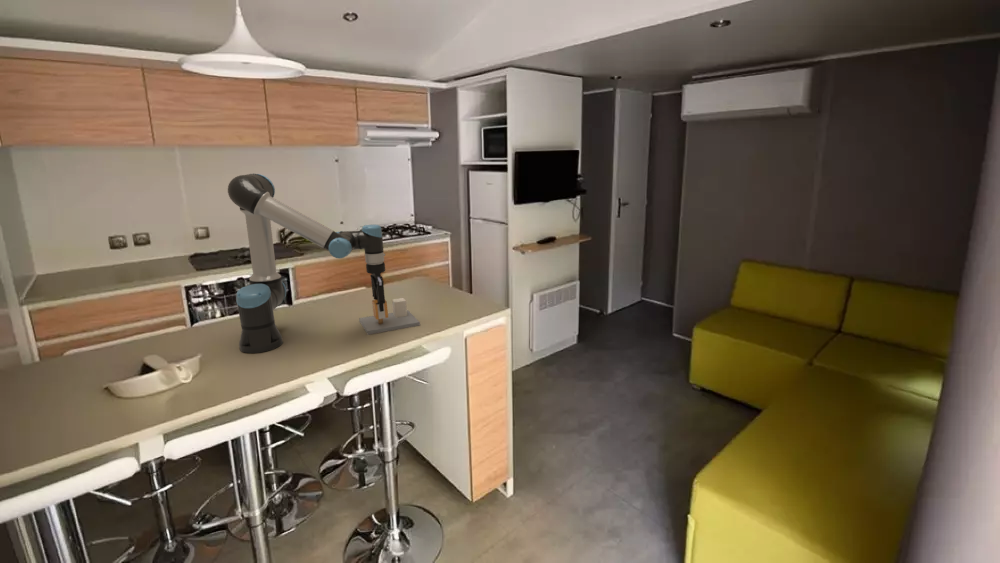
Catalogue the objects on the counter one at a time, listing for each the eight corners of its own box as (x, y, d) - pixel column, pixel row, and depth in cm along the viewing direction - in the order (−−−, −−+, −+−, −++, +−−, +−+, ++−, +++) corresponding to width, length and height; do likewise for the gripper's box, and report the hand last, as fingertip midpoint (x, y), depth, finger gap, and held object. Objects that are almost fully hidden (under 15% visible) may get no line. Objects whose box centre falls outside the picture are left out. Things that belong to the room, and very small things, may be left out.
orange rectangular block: (376, 319, 202) (374, 303, 200) (373, 316, 206) (372, 300, 204) (388, 317, 204) (386, 301, 202) (385, 313, 208) (383, 298, 206)
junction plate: (367, 334, 197) (365, 314, 195) (359, 321, 213) (357, 302, 210) (419, 325, 206) (418, 306, 204) (408, 313, 222) (406, 295, 220)
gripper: (389, 265, 192) (394, 321, 199) (379, 257, 208) (384, 308, 214) (370, 268, 189) (376, 324, 195) (361, 259, 205) (367, 311, 211)
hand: (380, 316), depth 205 cm, fingers closed on orange rectangular block, 5 cm apart
